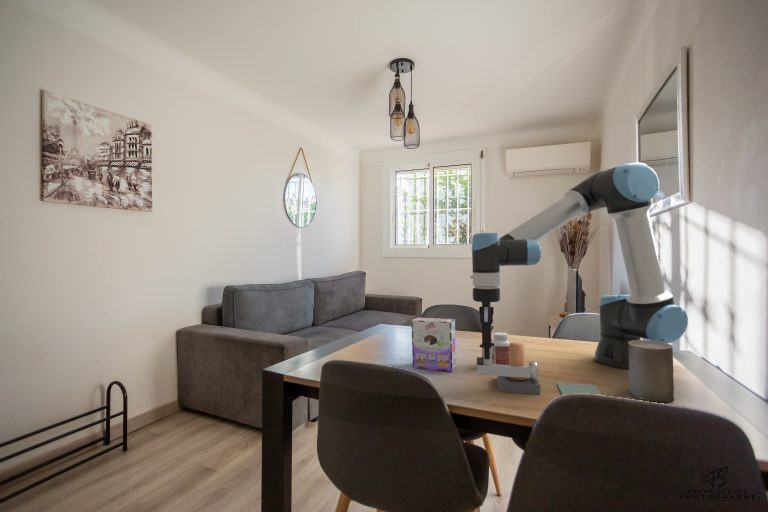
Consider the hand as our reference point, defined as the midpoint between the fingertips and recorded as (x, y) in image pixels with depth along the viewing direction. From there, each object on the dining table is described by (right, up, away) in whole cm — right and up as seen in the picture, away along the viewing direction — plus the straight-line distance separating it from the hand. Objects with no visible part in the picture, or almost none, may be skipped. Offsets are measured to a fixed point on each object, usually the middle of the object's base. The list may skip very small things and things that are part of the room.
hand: (487, 369), depth 109 cm
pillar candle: (+41, -5, -9) cm, 42 cm away
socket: (+9, -5, 0) cm, 10 cm away
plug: (+9, -5, 0) cm, 10 cm away
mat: (+24, -5, -5) cm, 25 cm away
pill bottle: (+10, -5, +18) cm, 21 cm away
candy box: (-13, -5, +19) cm, 23 cm away
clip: (+5, -2, -3) cm, 6 cm away
